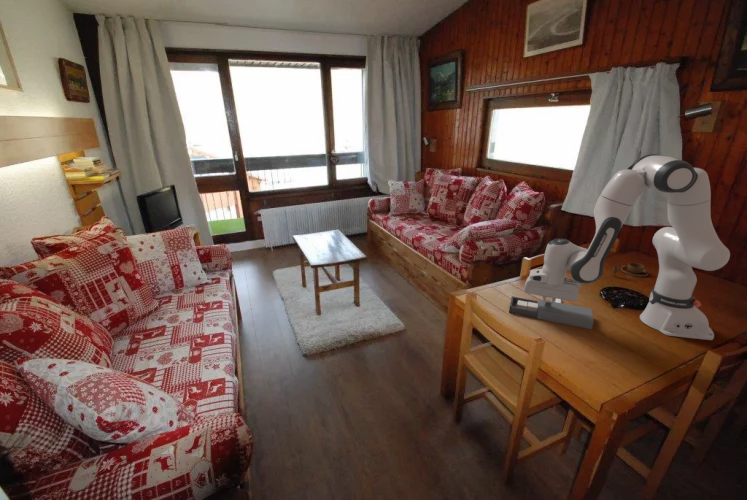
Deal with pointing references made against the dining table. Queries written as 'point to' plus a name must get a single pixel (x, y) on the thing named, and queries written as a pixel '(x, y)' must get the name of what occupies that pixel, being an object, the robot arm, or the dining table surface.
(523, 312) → the tray
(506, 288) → the dining table surface
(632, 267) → the place setting
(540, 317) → the long flat grey base
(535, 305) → the tile
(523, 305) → the tile
